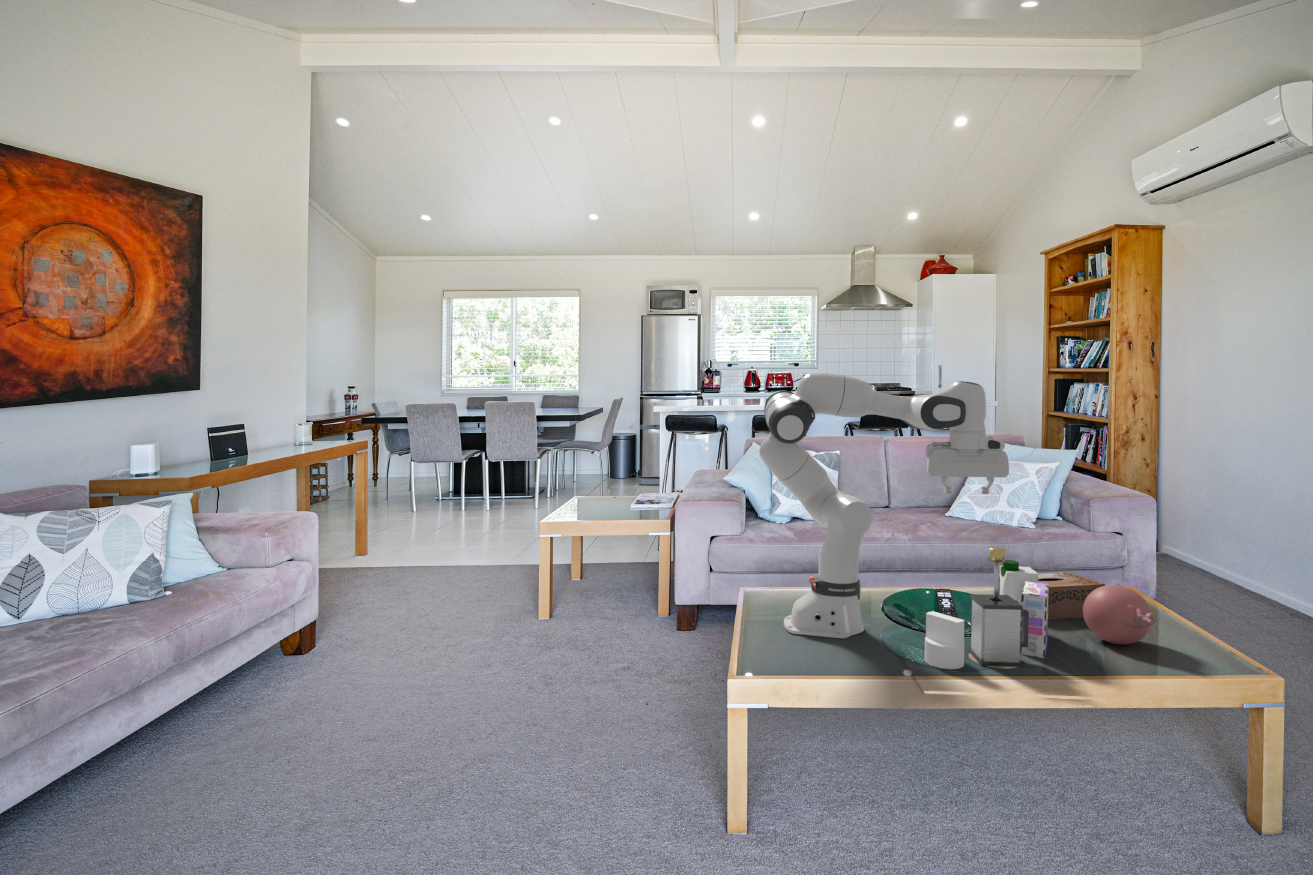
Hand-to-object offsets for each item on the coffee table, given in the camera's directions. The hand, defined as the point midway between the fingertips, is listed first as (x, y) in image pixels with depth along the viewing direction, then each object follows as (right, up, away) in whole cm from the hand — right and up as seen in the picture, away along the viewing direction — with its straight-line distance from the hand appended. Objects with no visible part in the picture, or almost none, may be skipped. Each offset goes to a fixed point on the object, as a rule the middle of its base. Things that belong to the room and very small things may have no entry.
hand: (966, 493), depth 184 cm
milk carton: (+17, -40, +7) cm, 44 cm away
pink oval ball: (+39, -40, -4) cm, 56 cm away
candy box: (+15, -41, -6) cm, 44 cm away
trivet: (+1, -41, -13) cm, 43 cm away
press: (+2, -40, -14) cm, 43 cm away
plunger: (+1, -29, -14) cm, 32 cm away
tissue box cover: (+37, -39, +26) cm, 59 cm away
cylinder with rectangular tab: (-12, -41, -15) cm, 46 cm away
